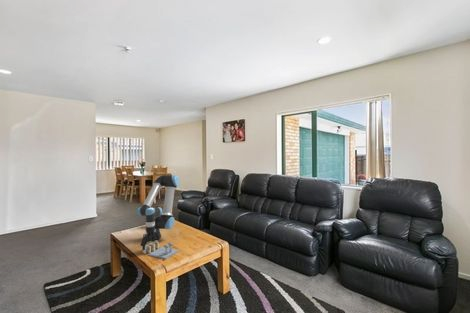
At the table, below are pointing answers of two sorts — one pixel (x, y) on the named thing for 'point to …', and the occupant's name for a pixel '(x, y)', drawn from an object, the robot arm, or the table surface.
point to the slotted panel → (151, 246)
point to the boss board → (164, 251)
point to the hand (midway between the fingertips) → (150, 250)
